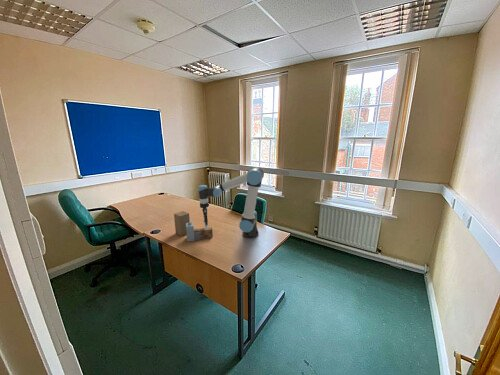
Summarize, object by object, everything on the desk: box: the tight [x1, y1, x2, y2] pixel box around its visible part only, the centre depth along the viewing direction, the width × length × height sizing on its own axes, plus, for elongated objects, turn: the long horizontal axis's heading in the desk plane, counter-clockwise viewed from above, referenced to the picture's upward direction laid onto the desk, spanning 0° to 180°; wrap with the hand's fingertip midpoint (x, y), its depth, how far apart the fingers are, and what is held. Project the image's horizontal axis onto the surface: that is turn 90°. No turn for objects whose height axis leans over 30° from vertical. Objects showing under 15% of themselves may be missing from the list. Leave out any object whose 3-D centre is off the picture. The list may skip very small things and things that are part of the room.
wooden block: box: [173, 210, 191, 237], centre depth 195 cm, size 10×10×20 cm
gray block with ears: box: [186, 221, 201, 242], centre depth 185 cm, size 11×8×16 cm
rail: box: [194, 227, 214, 240], centre depth 188 cm, size 16×4×8 cm, turn 105°
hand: (206, 225), depth 187 cm, fingers open, 13 cm apart
